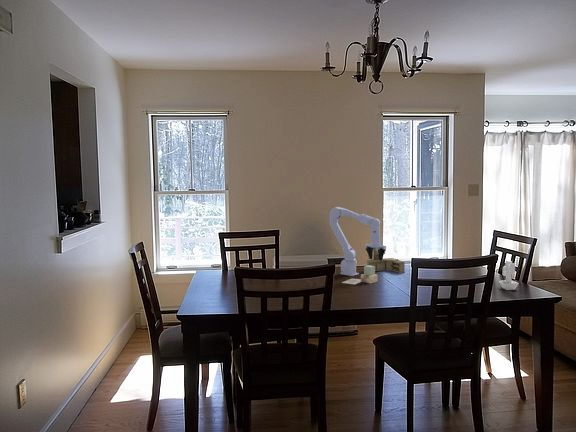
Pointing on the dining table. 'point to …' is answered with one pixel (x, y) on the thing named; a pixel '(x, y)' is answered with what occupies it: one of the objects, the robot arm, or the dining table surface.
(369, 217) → the robot arm
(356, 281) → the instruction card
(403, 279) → the dining table surface
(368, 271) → the sage cube
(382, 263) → the toy kitchen set
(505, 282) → the figurine
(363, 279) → the beech base
